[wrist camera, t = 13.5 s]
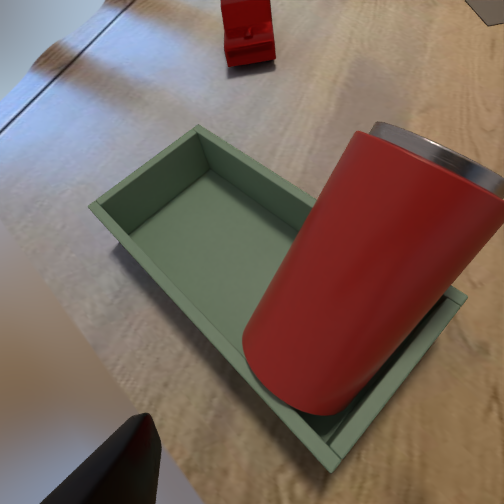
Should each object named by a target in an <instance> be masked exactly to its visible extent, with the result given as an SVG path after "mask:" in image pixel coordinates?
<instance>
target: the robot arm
mask: <svg viewBox="0 0 504 504" xmlns="http://www.w3.org/2000/svg"><path fill="white" fill-rule="evenodd" d="M161 450H162V446H161V440H160V437H159V434H158V432H157V429H156V427H155V424H154V421H153V419H152V417H151V415H150V414H149V413H142V414H138V415H134V416H132V417H130V418H129V419H128V420H127V421H126V422H125V423H124V424H123V425H121V427H119V428H118V429H117V430H116V431H115V432H114V433H113V434H112V435H111V436H110V437H109V438H108V439H107V440H106V441H105V442H104V443H103V444H102V445H101V446H99V447H98V448H97V449H96V450H95V451H94V452H93V453H92V454H91V455H90V456H89V457H88V458H87V459H86V460H85V461H84V462H83V463H82V464H81V465H80V466H79V467H77V469H76V470H74V471H73V472H72V473H71V474H70V475H69V476H68V477H67V478H66V479H65V480H64V481H63V482H62V483H61V484H60V485H59V486H58V487H57V488H56V489H54V490H53V491H52V492H51V493H50V494H49V495H48V496H47V497H46V498H45V499H44V500H43V501H42V502H41V503H40V504H155V503H156V494H157V485H158V477H159V468H160V459H161Z"/></svg>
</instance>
